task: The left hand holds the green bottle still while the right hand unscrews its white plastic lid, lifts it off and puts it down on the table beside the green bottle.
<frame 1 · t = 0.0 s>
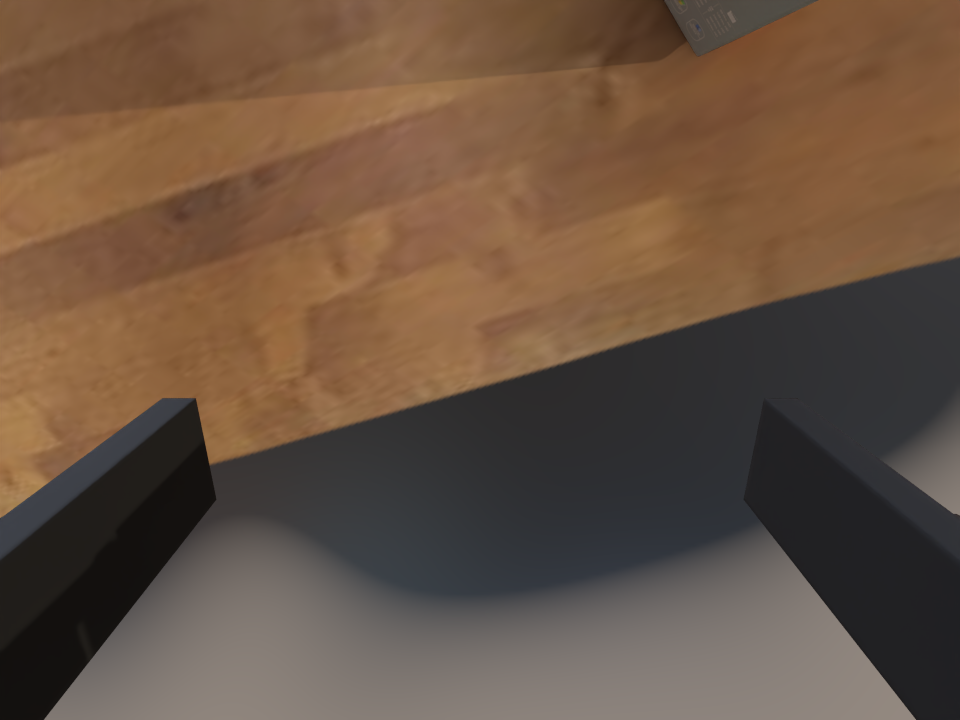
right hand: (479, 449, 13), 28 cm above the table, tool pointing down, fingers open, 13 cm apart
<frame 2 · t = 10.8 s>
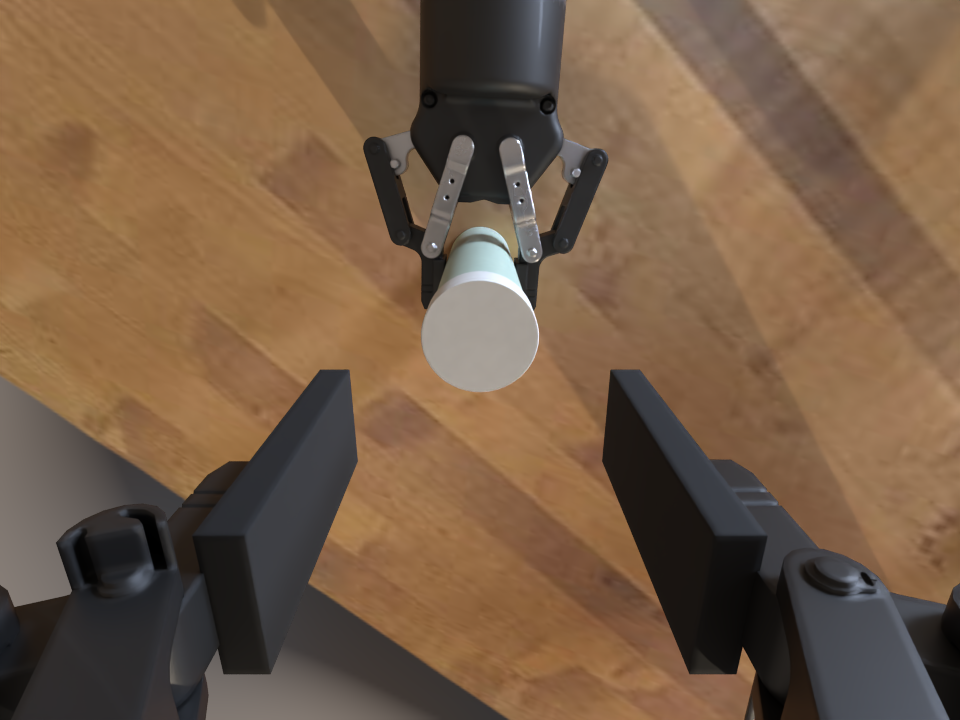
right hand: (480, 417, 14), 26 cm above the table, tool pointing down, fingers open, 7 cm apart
left hand: (478, 316, 33), fingers closed on green bottle, 4 cm apart
green bottle: (480, 257, 38), on the table, touching left hand
lid: (479, 335, 21), point 19 cm above the table, screwed on, not yet turned
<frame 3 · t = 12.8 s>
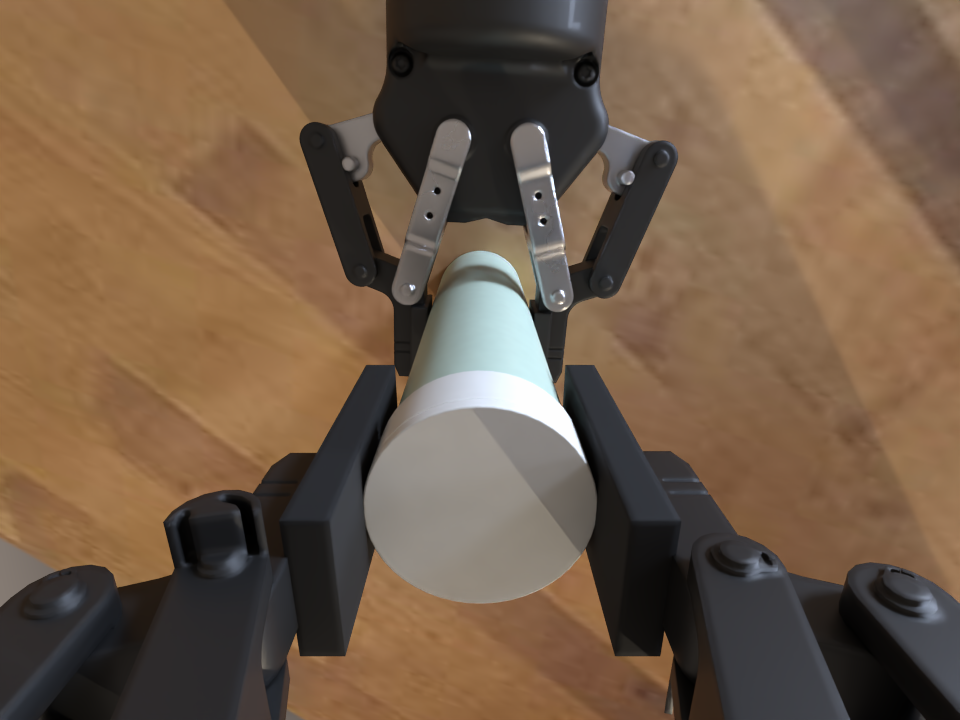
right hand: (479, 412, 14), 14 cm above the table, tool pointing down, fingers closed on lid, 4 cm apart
left hand: (477, 384, 23), fingers closed on green bottle, 4 cm apart
green bottle: (480, 291, 28), on the table, touching left hand
lid: (480, 501, 11), point 19 cm above the table, screwed on, not yet turned, touching right hand
when the right hand's fingers open (15 cm above the table, at t = 14.2 s): lid stays where it is, point 19 cm above the table.
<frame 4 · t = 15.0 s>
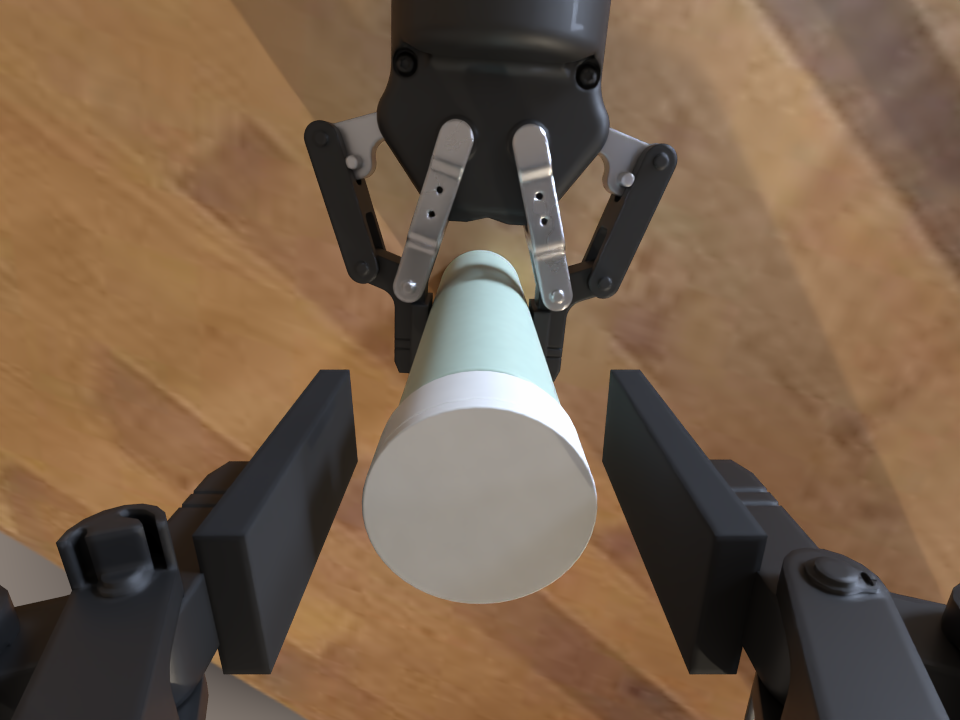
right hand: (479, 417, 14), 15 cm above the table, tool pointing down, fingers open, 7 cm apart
left hand: (476, 381, 23), fingers closed on green bottle, 4 cm apart
green bottle: (479, 290, 28), on the table, touching left hand
lid: (479, 502, 11), point 19 cm above the table, turned 77° so far, risen 0.3 cm, still on its thread
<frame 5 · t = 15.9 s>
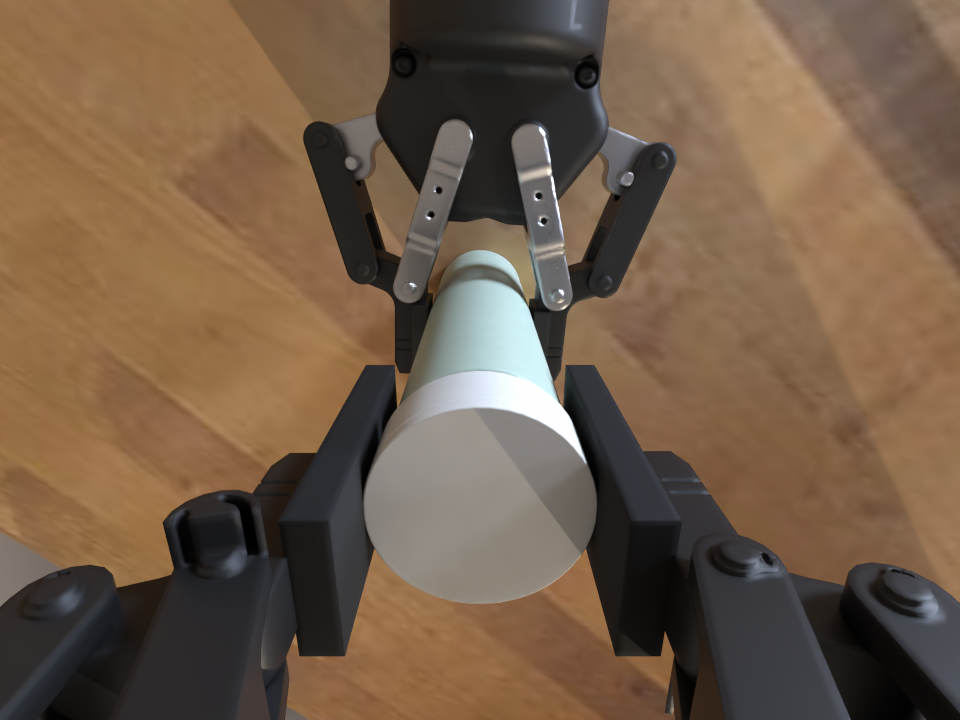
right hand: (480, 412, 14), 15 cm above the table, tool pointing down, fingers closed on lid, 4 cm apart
left hand: (477, 381, 23), fingers closed on green bottle, 4 cm apart
green bottle: (480, 290, 28), on the table, touching left hand
lid: (480, 502, 11), point 19 cm above the table, turned 77° so far, risen 0.3 cm, still on its thread, touching right hand
when the right hand's fingers open (0 cm above the table, at t = 22.7 s): lid drops 3 cm, point 1 cm above the table.
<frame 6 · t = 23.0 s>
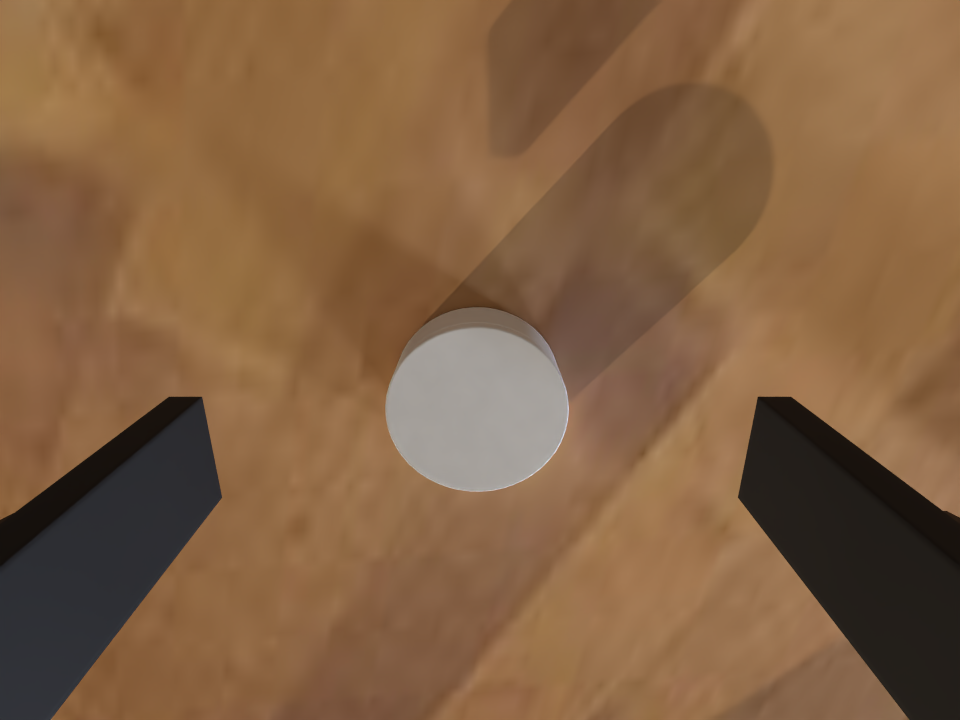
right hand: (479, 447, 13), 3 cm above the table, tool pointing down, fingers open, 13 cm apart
lid: (477, 408, 14), point 1 cm above the table, off its thread
when the left hand's fingers open (6 cm above the table, at t = 23.4 s): green bottle stays where it is, on the table.
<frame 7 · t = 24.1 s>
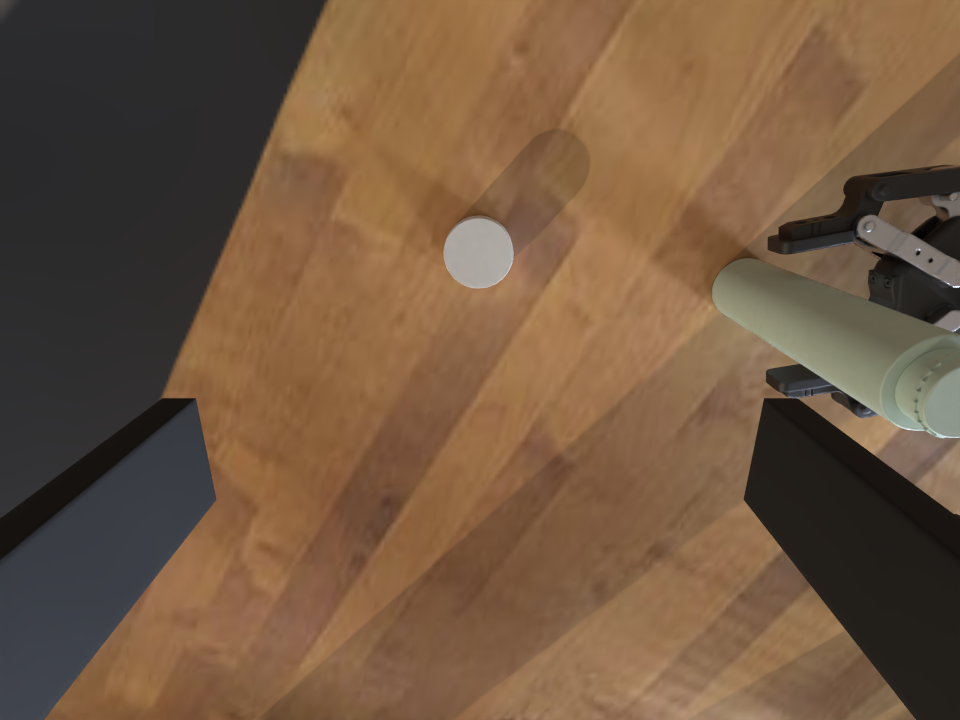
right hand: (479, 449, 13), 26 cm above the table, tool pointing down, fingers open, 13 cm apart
green bottle: (742, 288, 37), on the table
lid: (478, 253, 35), point 1 cm above the table, off its thread
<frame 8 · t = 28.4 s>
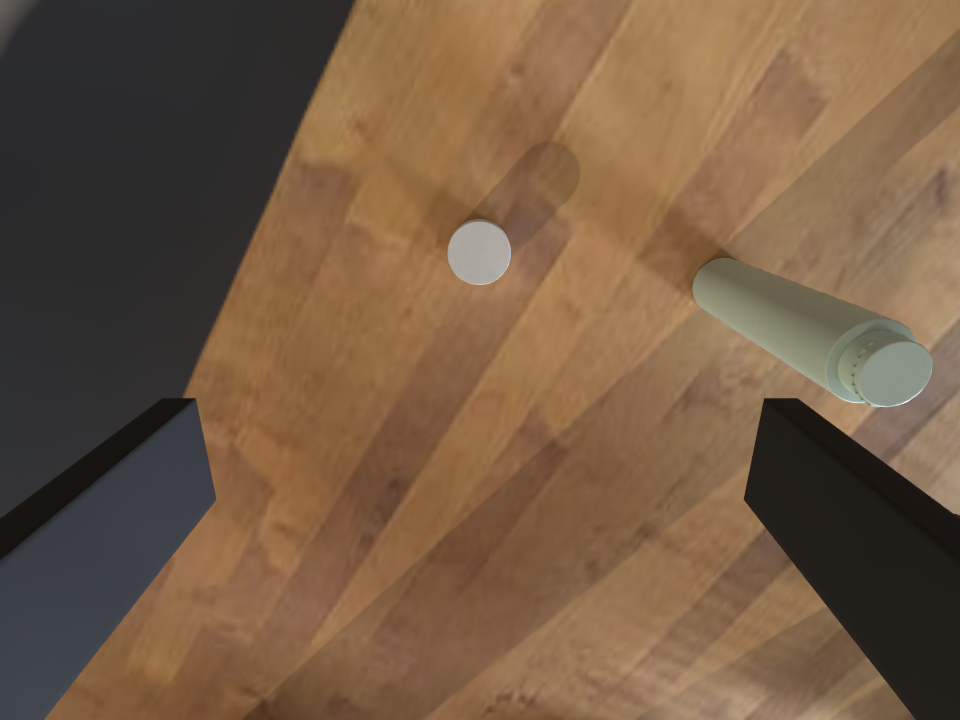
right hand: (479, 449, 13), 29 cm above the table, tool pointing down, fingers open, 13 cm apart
green bottle: (719, 285, 41), on the table
lid: (479, 252, 39), point 1 cm above the table, off its thread
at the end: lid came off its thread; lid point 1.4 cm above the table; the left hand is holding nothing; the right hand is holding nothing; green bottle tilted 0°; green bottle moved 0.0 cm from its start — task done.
